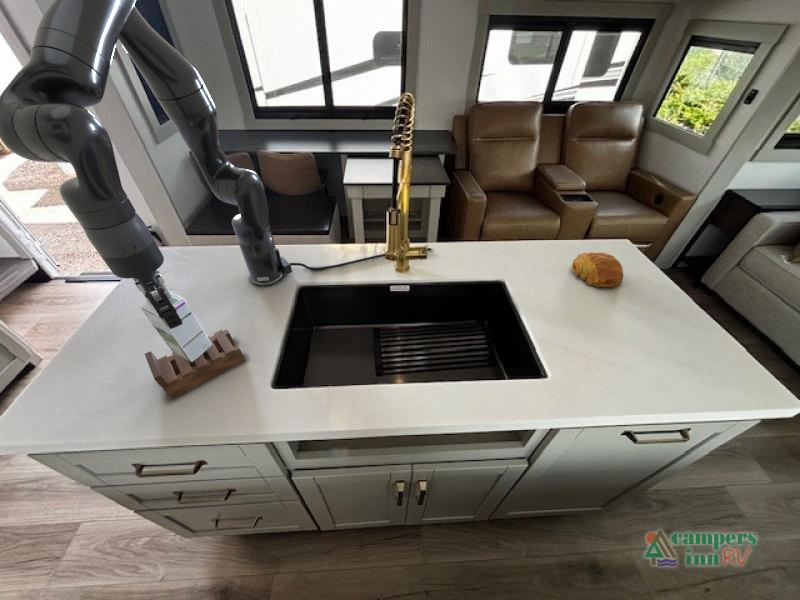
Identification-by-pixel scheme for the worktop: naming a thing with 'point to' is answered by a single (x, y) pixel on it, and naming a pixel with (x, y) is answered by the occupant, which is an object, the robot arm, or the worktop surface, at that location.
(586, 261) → the croissant
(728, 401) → the worktop surface
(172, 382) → the rack
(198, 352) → the syrup box
